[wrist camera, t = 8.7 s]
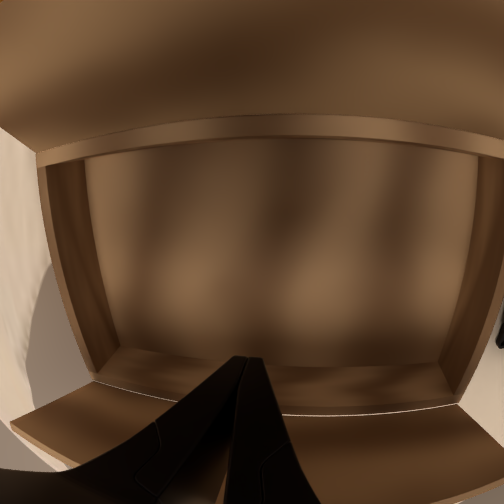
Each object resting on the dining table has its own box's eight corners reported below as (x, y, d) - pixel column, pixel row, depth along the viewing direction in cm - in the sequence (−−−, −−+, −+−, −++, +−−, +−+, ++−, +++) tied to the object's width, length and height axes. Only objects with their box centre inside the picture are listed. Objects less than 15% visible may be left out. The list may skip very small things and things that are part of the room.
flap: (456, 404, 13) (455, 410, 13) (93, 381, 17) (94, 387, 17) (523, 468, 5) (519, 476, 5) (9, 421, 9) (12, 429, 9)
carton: (483, 143, 12) (525, 147, 8) (440, 363, 17) (458, 402, 13) (80, 148, 15) (35, 153, 12) (118, 347, 20) (92, 379, 17)
